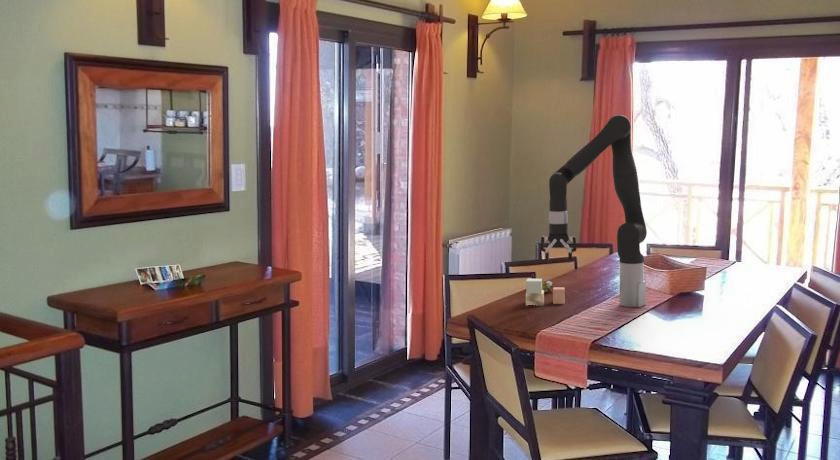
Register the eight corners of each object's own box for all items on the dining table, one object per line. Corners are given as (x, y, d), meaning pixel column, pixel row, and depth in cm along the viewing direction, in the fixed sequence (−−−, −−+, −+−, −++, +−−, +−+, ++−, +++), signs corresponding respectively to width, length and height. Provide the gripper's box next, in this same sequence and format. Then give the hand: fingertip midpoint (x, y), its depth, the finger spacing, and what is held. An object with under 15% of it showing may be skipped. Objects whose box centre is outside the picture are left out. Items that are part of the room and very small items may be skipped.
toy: (547, 291, 328) (562, 286, 341) (534, 279, 331) (549, 275, 343) (537, 303, 331) (553, 297, 343) (525, 291, 334) (541, 286, 346)
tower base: (544, 302, 321) (543, 290, 321) (543, 306, 315) (543, 293, 314) (526, 302, 323) (526, 290, 322) (525, 305, 316) (525, 293, 315)
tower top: (542, 290, 320) (542, 278, 320) (541, 293, 315) (541, 281, 314) (527, 290, 322) (527, 278, 321) (526, 293, 316) (526, 281, 315)
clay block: (564, 301, 321) (564, 287, 320) (564, 304, 317) (564, 289, 316) (553, 301, 322) (553, 287, 321) (553, 303, 318) (553, 289, 317)
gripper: (576, 220, 318) (576, 260, 320) (541, 221, 321) (541, 260, 322) (576, 223, 310) (576, 263, 312) (540, 223, 313) (540, 263, 315)
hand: (558, 261), depth 317 cm, fingers open, 8 cm apart
